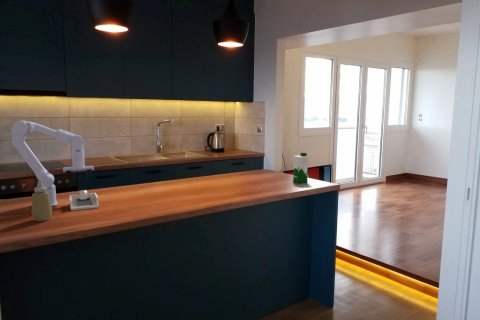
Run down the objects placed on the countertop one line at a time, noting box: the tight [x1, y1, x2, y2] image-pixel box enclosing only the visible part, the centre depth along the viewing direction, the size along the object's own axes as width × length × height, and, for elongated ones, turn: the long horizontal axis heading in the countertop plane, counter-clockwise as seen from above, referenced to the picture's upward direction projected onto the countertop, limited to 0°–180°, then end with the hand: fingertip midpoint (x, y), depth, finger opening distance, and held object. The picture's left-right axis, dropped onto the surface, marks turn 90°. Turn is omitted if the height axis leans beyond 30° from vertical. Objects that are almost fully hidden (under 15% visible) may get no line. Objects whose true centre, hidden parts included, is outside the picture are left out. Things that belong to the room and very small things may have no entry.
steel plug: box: [78, 189, 88, 201], centre depth 182 cm, size 4×4×7 cm
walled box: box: [68, 192, 100, 212], centre depth 183 cm, size 13×13×5 cm
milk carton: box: [292, 152, 310, 185], centre depth 245 cm, size 9×9×20 cm
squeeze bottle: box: [31, 179, 53, 222], centre depth 159 cm, size 8×8×18 cm
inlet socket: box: [76, 198, 92, 207], centre depth 183 cm, size 7×7×2 cm
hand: (79, 184), depth 190 cm, fingers open, 7 cm apart
